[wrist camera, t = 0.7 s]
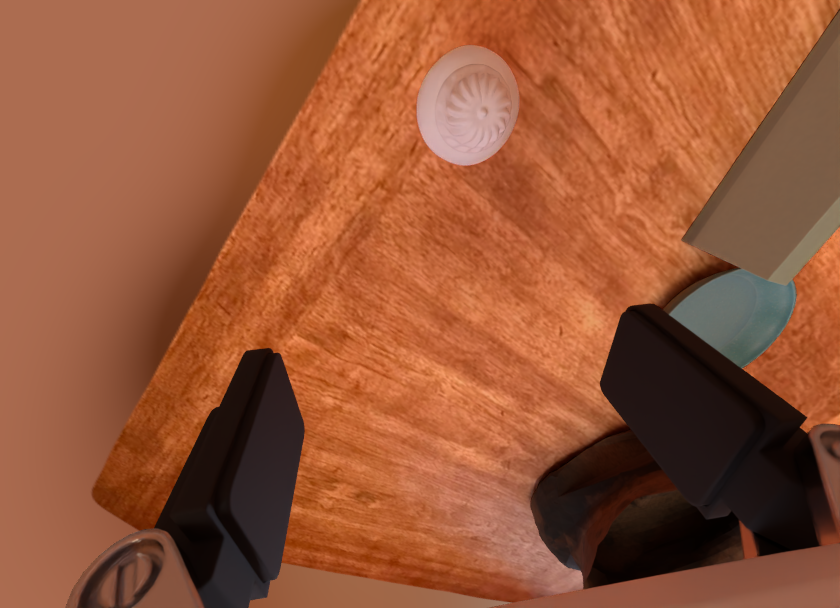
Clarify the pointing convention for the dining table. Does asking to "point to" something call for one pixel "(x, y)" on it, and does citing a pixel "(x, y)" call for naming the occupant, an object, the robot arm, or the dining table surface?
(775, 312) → the saucer
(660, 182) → the dining table surface
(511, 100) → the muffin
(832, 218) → the wall
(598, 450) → the bowl
